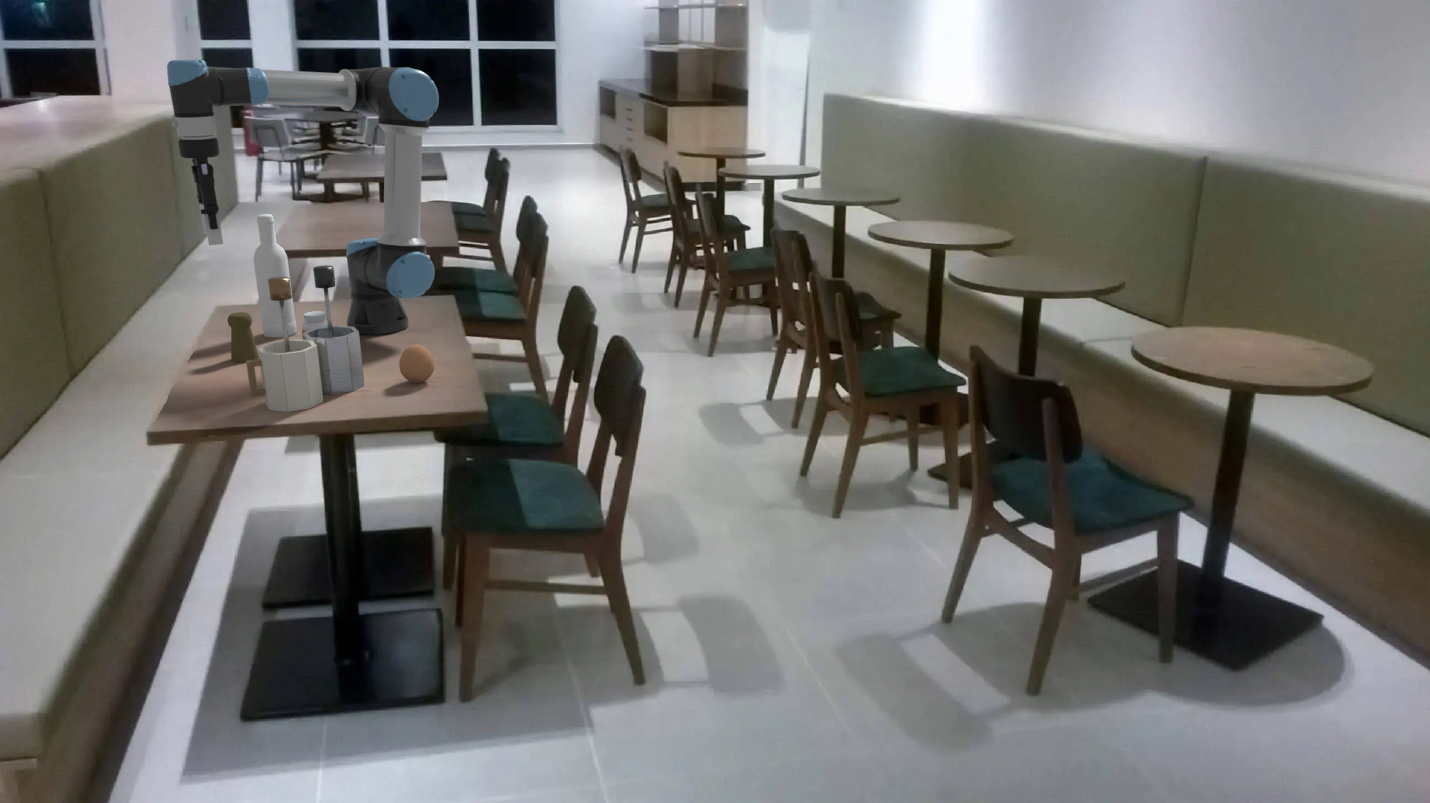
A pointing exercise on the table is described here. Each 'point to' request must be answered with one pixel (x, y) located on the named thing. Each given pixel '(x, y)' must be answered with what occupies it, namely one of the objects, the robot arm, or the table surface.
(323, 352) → the grey octagonal container
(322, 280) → the plunger
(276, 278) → the plunger
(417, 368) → the egg
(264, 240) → the bottle
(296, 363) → the white faceted mug
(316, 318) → the pill bottle
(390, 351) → the table surface
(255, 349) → the cork
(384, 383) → the table surface
